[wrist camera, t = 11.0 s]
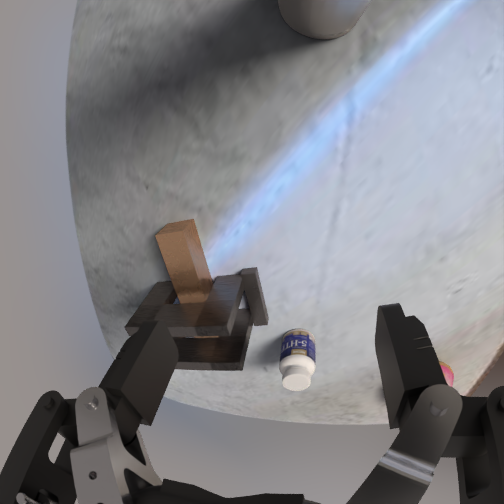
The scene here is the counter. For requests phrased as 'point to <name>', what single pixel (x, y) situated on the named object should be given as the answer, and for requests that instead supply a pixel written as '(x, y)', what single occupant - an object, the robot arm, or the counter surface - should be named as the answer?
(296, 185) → the counter surface
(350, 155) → the counter surface
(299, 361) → the pill bottle
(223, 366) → the dark two-tier wooden rack
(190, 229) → the tall wooden block
